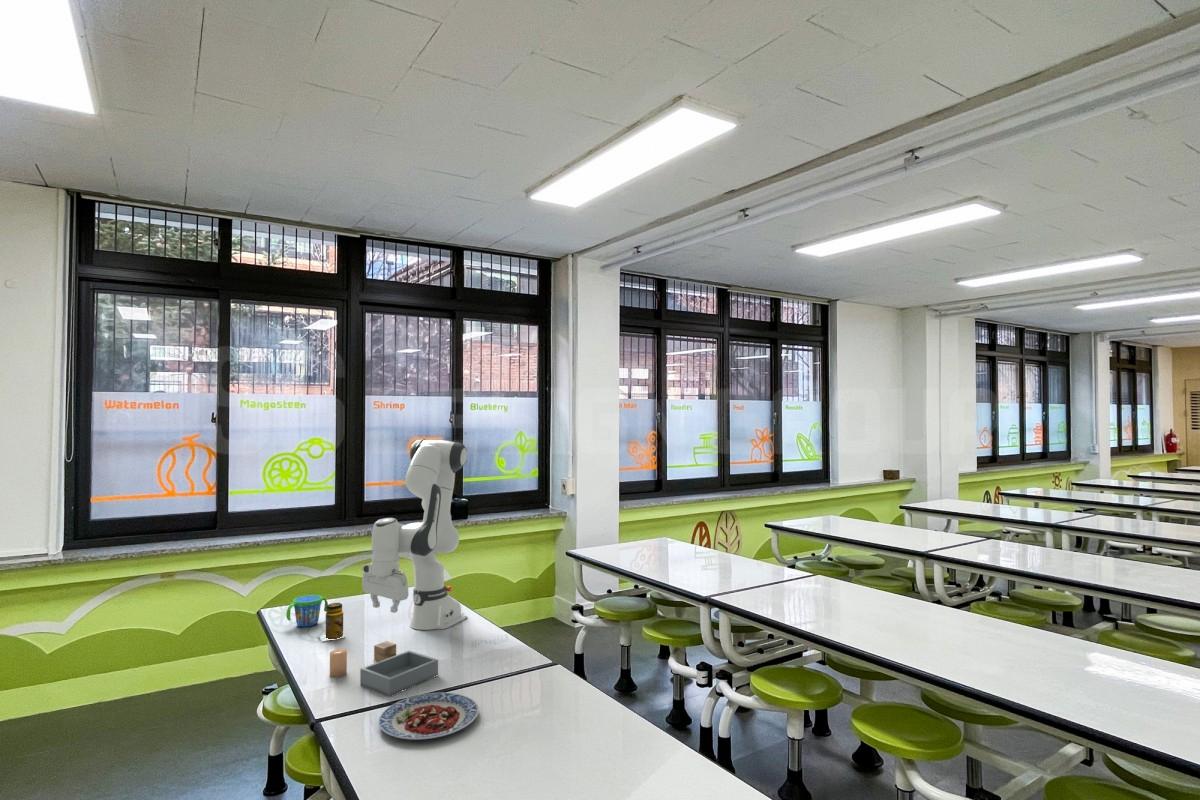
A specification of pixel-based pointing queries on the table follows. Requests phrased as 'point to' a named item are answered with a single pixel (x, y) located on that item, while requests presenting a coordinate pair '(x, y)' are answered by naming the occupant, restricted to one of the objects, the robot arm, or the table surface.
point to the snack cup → (307, 609)
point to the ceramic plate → (428, 716)
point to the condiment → (334, 621)
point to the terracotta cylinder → (338, 663)
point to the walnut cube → (384, 651)
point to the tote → (398, 672)
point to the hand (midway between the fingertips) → (385, 609)
